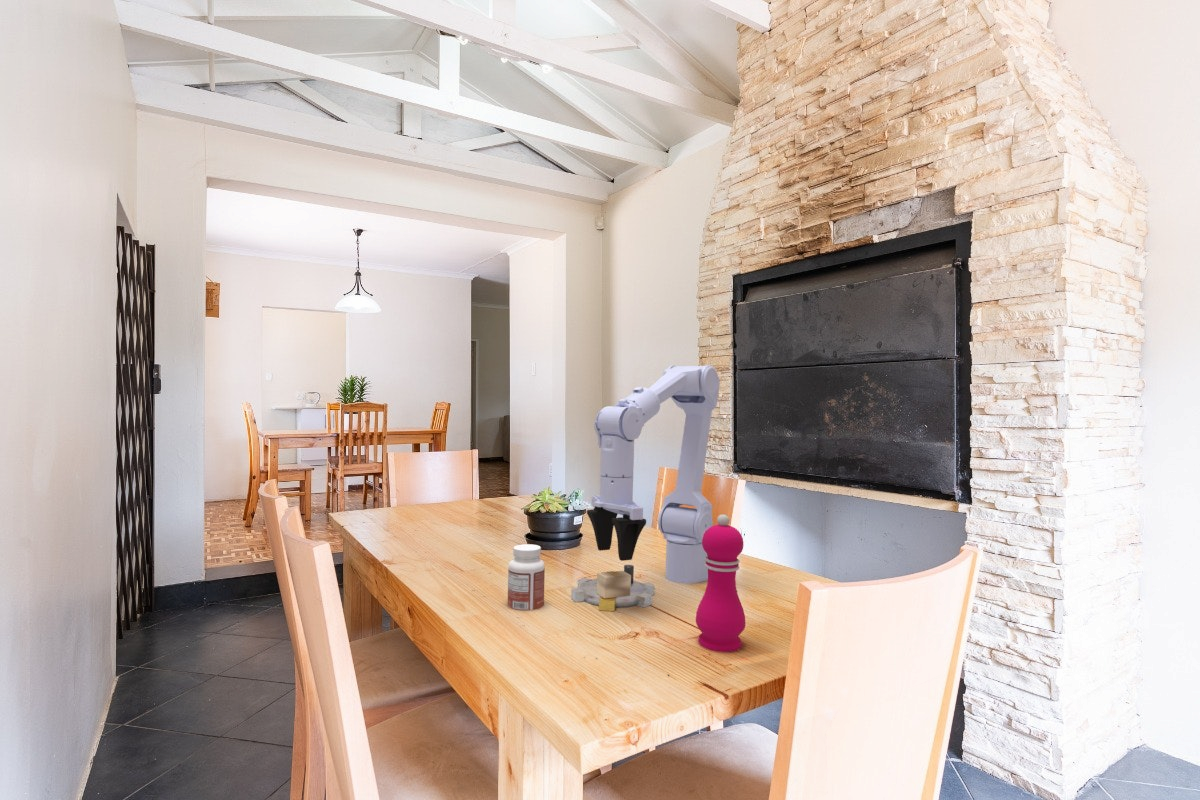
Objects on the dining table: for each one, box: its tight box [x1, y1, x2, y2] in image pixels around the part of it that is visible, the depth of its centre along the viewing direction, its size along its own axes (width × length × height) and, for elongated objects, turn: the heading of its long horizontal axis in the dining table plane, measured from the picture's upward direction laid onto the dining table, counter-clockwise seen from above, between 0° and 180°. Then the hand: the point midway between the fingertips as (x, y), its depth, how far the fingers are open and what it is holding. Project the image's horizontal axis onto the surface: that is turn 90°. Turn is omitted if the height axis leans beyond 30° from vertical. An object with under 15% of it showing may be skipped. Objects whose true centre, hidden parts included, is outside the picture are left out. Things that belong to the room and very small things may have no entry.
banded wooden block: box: [596, 570, 631, 598], centre depth 109 cm, size 5×3×4 cm, turn 118°
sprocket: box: [570, 564, 655, 612], centre depth 113 cm, size 16×14×5 cm
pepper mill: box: [695, 513, 746, 653], centre depth 93 cm, size 7×7×20 cm
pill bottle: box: [507, 543, 546, 611], centre depth 108 cm, size 6×6×11 cm
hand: (614, 554), depth 109 cm, fingers open, 7 cm apart
